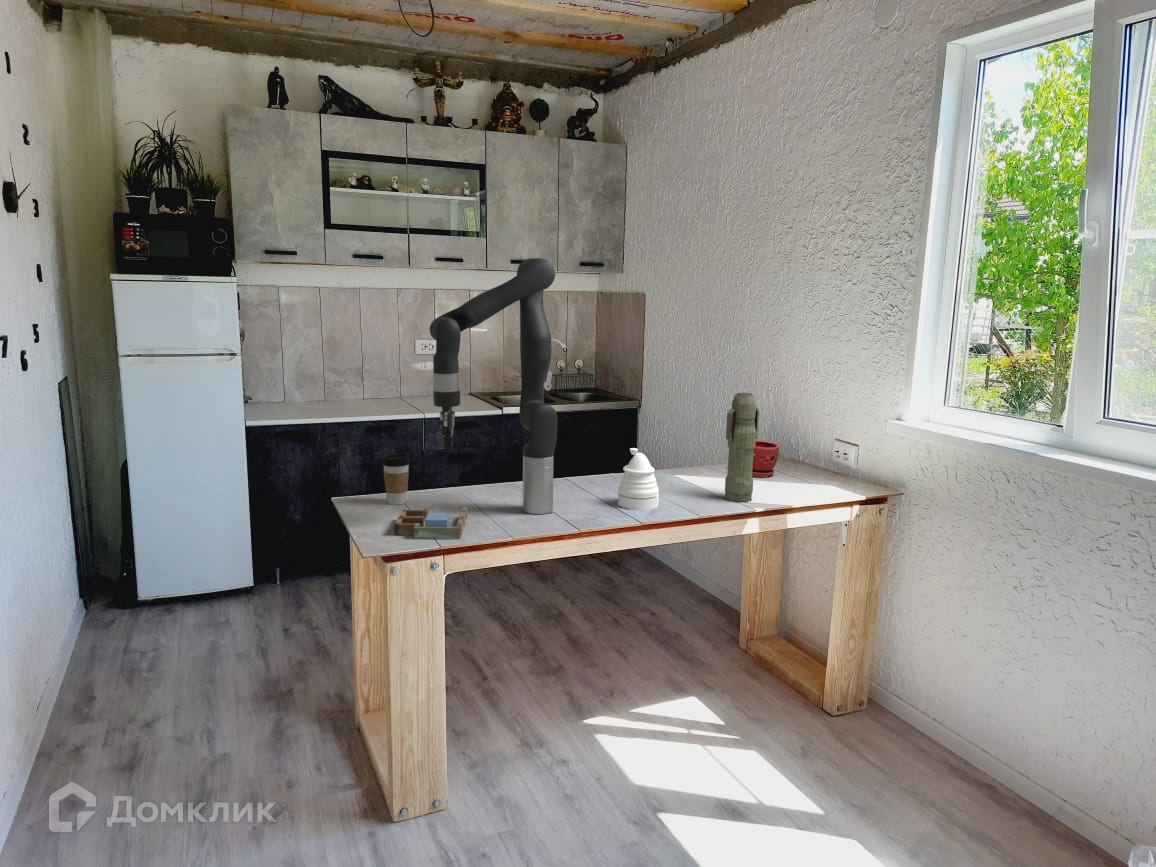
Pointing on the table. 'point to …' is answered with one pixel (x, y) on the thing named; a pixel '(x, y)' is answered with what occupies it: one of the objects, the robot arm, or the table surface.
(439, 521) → the block
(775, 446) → the plant pot
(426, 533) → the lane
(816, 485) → the table surface
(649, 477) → the honey pot
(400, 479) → the coffee cup
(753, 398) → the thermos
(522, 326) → the robot arm
